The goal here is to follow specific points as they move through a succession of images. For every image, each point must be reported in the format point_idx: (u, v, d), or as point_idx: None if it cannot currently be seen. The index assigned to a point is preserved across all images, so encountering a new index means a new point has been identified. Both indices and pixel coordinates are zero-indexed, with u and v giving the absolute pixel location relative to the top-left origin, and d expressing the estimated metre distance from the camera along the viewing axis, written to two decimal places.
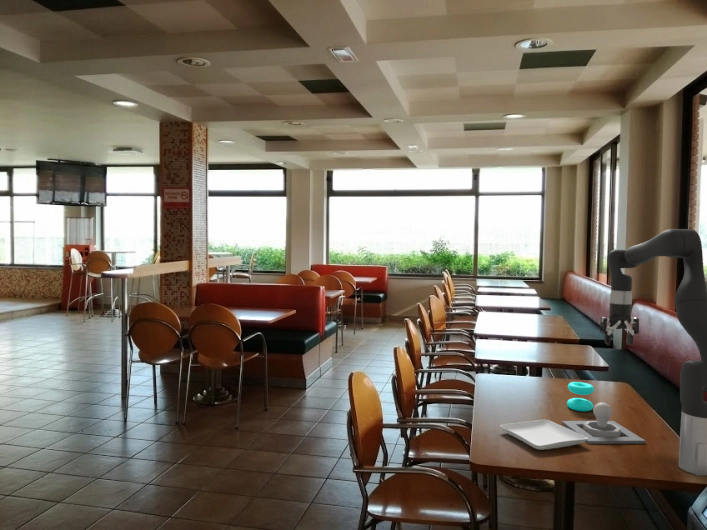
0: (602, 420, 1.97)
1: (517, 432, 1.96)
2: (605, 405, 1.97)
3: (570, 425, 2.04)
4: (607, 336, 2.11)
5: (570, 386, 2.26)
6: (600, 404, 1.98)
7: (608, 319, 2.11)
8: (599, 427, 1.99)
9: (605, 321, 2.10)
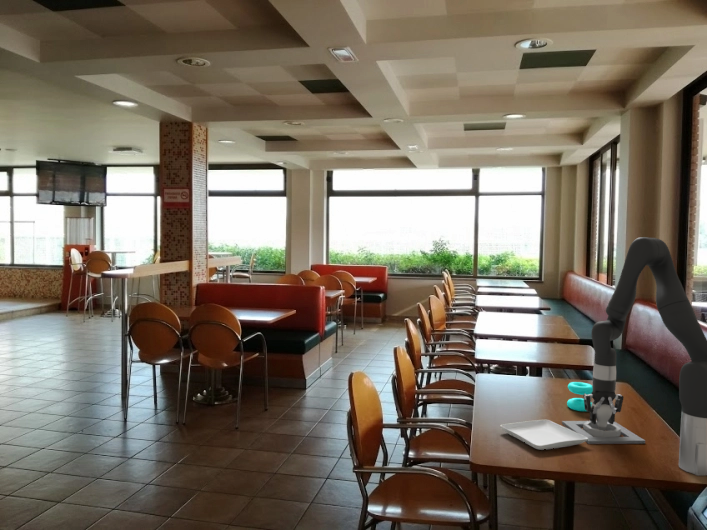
0: (602, 420, 1.97)
1: (517, 432, 1.96)
2: (605, 405, 1.97)
3: (570, 425, 2.04)
4: (593, 415, 1.98)
5: (570, 386, 2.26)
6: None
7: (591, 396, 1.98)
8: (599, 427, 1.99)
9: (588, 399, 1.97)
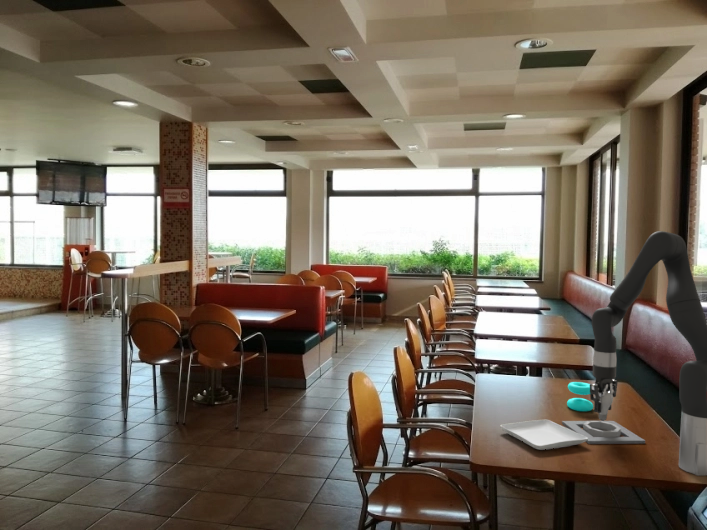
0: (606, 408, 1.96)
1: (517, 432, 1.96)
2: (607, 392, 1.97)
3: (570, 425, 2.04)
4: (598, 404, 1.95)
5: (570, 386, 2.26)
6: None
7: None
8: (602, 415, 1.97)
9: (597, 389, 1.94)
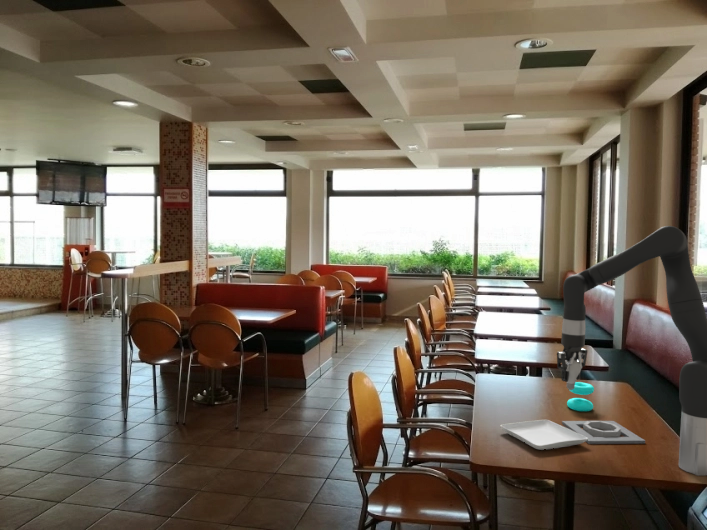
0: (573, 376, 1.92)
1: (517, 432, 1.96)
2: (575, 361, 1.93)
3: (570, 425, 2.04)
4: (566, 372, 1.91)
5: None
6: None
7: (564, 353, 1.91)
8: (569, 384, 1.93)
9: (564, 357, 1.89)
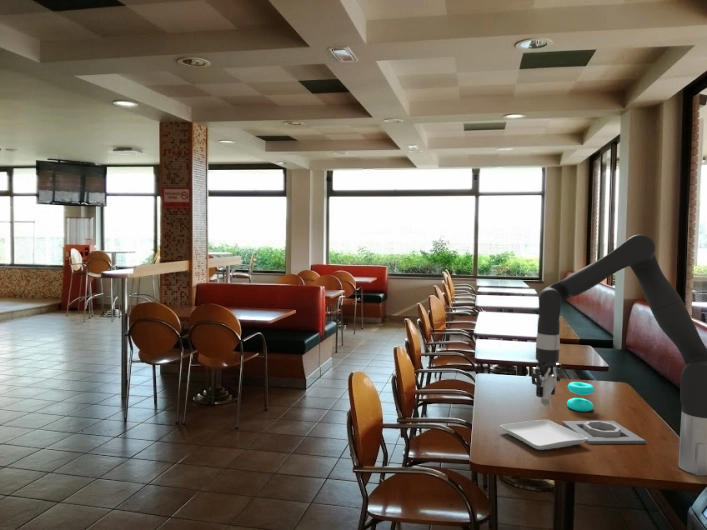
0: (548, 392, 1.88)
1: (517, 432, 1.96)
2: (550, 376, 1.89)
3: (570, 425, 2.04)
4: (540, 388, 1.88)
5: (570, 386, 2.26)
6: None
7: (539, 368, 1.87)
8: (544, 400, 1.90)
9: (538, 372, 1.86)
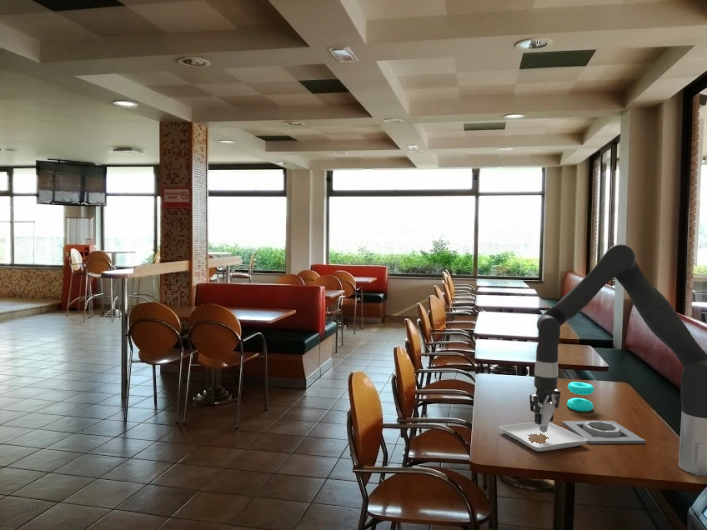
0: (546, 419, 1.89)
1: (517, 434, 1.96)
2: (548, 403, 1.90)
3: (570, 425, 2.04)
4: (539, 415, 1.88)
5: (570, 386, 2.26)
6: None
7: (537, 396, 1.88)
8: (542, 427, 1.90)
9: (536, 400, 1.86)
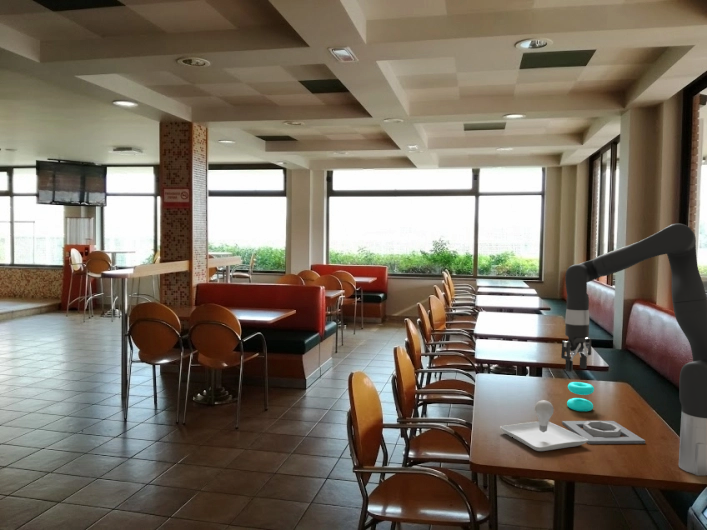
0: (546, 419, 1.89)
1: (517, 433, 1.96)
2: (548, 403, 1.89)
3: (570, 425, 2.04)
4: (570, 362, 1.87)
5: (570, 386, 2.26)
6: (543, 402, 1.89)
7: (570, 343, 1.88)
8: (542, 426, 1.90)
9: (569, 345, 1.86)
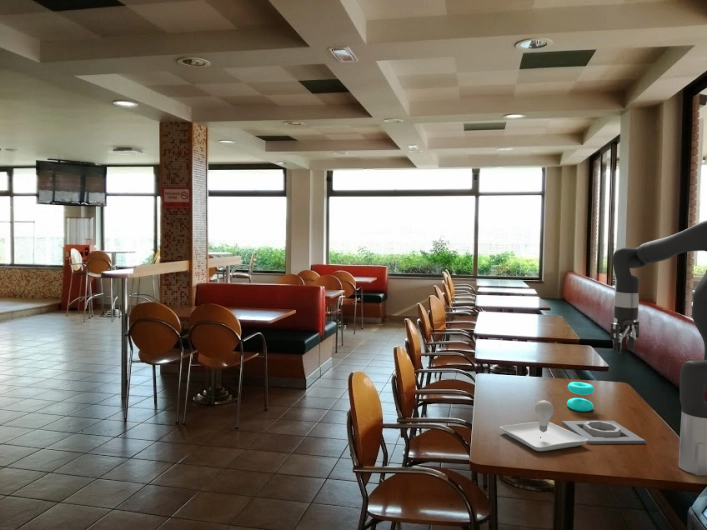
0: (546, 419, 1.89)
1: (517, 434, 1.96)
2: (548, 403, 1.89)
3: (570, 425, 2.04)
4: (618, 344, 1.91)
5: (570, 386, 2.26)
6: (543, 402, 1.89)
7: None
8: (542, 426, 1.90)
9: (618, 327, 1.90)
